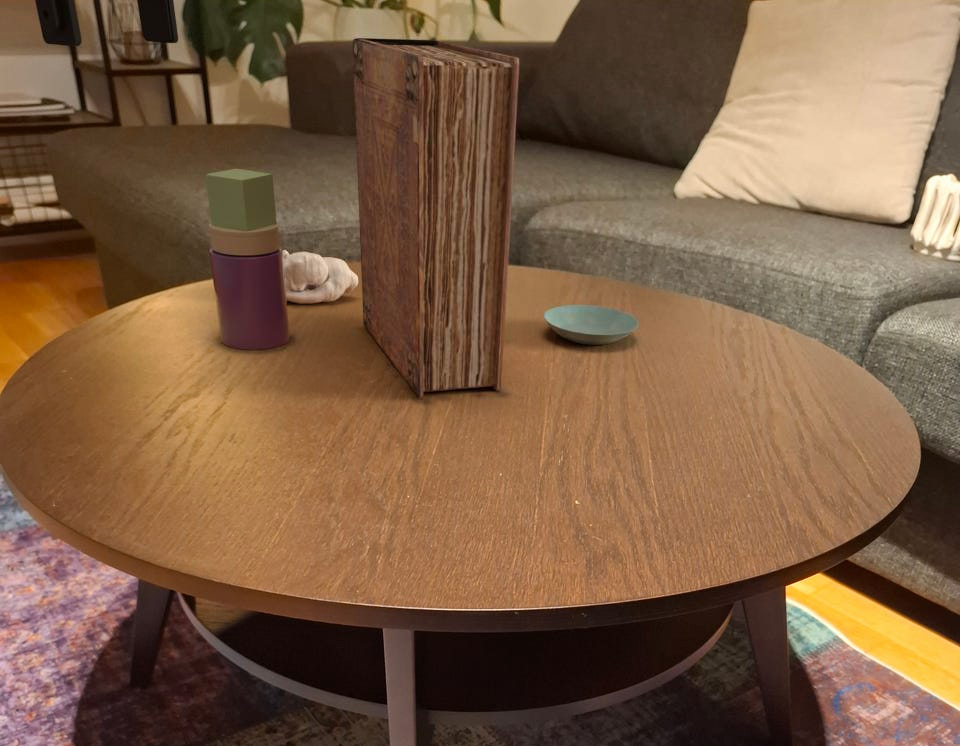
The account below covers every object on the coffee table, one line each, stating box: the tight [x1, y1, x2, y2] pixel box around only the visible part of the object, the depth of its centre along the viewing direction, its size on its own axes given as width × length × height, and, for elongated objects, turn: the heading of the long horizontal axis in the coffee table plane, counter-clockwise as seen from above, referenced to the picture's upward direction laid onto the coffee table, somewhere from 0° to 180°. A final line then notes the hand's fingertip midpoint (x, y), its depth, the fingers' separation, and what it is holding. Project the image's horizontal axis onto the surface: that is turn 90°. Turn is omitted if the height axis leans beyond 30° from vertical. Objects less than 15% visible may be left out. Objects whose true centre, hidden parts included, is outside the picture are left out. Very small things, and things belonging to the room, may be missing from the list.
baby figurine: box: [282, 249, 359, 305], centre depth 119 cm, size 9×12×8 cm
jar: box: [208, 246, 291, 351], centre depth 103 cm, size 8×8×12 cm
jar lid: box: [208, 221, 281, 256], centre depth 100 cm, size 8×8×2 cm
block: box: [205, 168, 277, 231], centre depth 98 cm, size 5×5×5 cm
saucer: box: [543, 304, 640, 346], centre depth 112 cm, size 12×12×2 cm
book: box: [352, 37, 520, 400], centre depth 95 cm, size 25×9×30 cm, turn 19°
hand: (114, 43), depth 68 cm, fingers open, 9 cm apart
